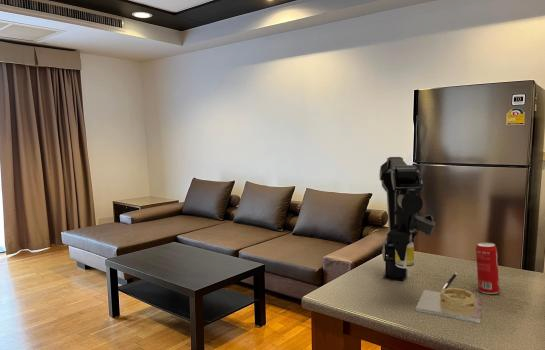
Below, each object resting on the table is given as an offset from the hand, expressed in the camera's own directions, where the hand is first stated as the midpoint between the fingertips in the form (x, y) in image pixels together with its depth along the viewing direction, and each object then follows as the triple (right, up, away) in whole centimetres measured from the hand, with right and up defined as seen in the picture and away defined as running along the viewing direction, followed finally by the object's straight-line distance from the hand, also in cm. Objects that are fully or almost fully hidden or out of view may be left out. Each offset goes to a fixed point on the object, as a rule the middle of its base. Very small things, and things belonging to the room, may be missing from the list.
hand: (404, 257), depth 118 cm
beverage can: (+27, -11, +3) cm, 29 cm away
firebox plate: (+11, -13, -7) cm, 18 cm away
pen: (+19, -11, +11) cm, 25 cm away
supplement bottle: (0, -3, 0) cm, 3 cm away
